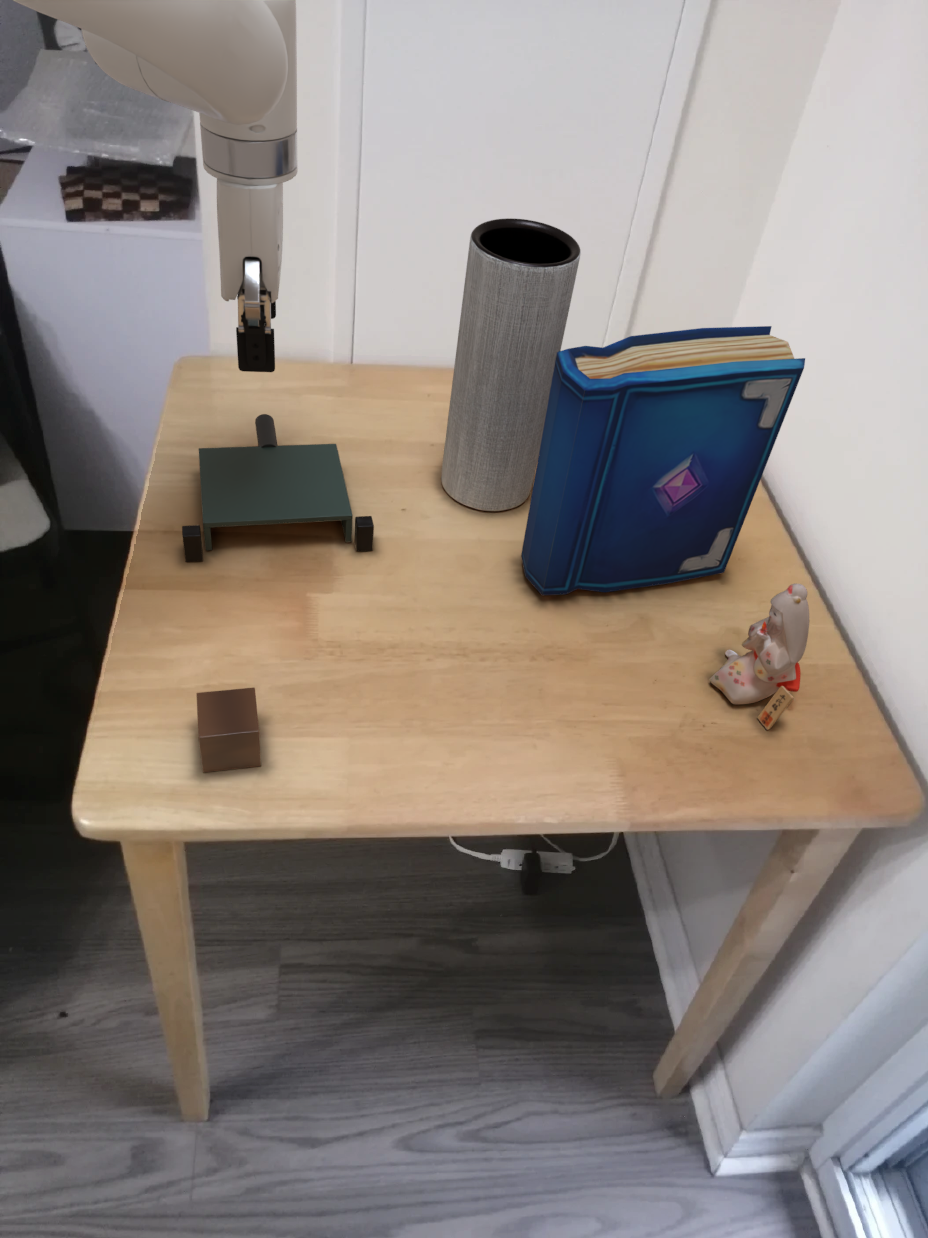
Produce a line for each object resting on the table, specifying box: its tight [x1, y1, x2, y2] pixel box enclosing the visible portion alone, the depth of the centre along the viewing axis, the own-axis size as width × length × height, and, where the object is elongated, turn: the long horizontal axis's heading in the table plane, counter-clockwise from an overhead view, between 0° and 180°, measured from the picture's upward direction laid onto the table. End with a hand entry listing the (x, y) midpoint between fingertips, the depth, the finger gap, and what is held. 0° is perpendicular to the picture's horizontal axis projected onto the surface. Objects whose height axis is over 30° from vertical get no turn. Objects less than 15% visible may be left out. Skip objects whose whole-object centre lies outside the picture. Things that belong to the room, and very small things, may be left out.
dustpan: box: [198, 413, 354, 551], centre depth 96 cm, size 17×14×4 cm
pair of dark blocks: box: [181, 515, 375, 563], centre depth 90 cm, size 2×18×3 cm, turn 103°
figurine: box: [709, 583, 810, 731], centre depth 82 cm, size 9×7×12 cm
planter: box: [440, 218, 582, 512], centre depth 93 cm, size 10×10×27 cm
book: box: [520, 325, 806, 596], centre depth 86 cm, size 22×7×25 cm, turn 108°
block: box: [196, 687, 262, 773], centre depth 73 cm, size 4×4×4 cm
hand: (258, 342), depth 87 cm, fingers open, 9 cm apart
